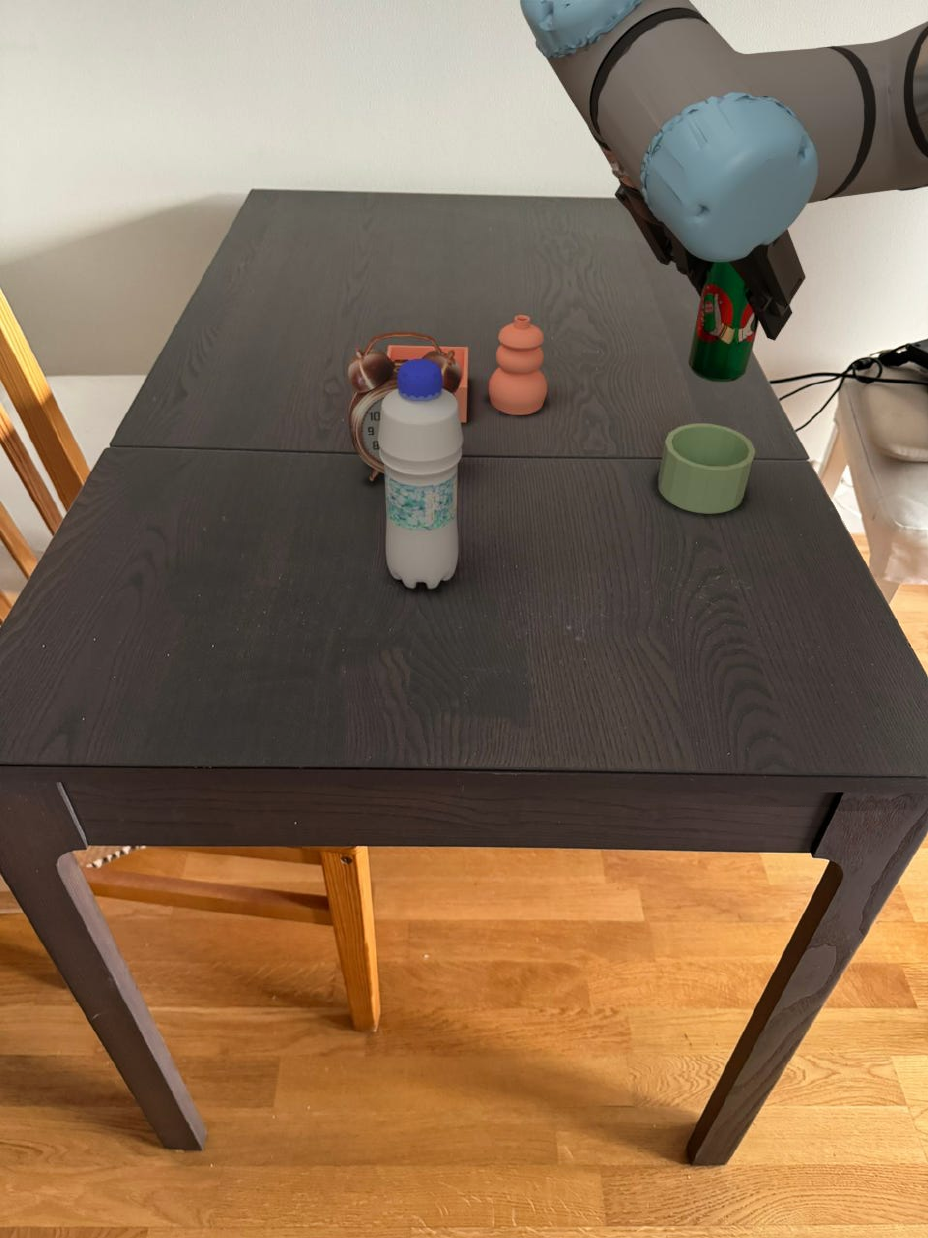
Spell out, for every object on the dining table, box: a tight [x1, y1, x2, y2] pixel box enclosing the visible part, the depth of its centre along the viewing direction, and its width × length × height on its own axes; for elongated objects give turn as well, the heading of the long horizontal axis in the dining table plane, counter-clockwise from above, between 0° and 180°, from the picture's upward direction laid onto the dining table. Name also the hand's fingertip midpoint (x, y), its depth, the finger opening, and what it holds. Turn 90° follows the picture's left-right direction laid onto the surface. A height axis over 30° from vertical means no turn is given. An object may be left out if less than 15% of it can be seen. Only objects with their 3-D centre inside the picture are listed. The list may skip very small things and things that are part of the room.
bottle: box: [378, 359, 464, 590], centre depth 75 cm, size 7×7×20 cm
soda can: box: [688, 261, 760, 383], centre depth 77 cm, size 5×5×12 cm
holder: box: [657, 422, 756, 515], centre depth 91 cm, size 8×8×5 cm
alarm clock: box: [347, 331, 462, 482], centre depth 89 cm, size 11×5×15 cm, turn 94°
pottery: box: [386, 314, 548, 423], centre depth 101 cm, size 18×10×10 cm, turn 89°
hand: (750, 314), depth 80 cm, fingers closed on soda can, 5 cm apart
